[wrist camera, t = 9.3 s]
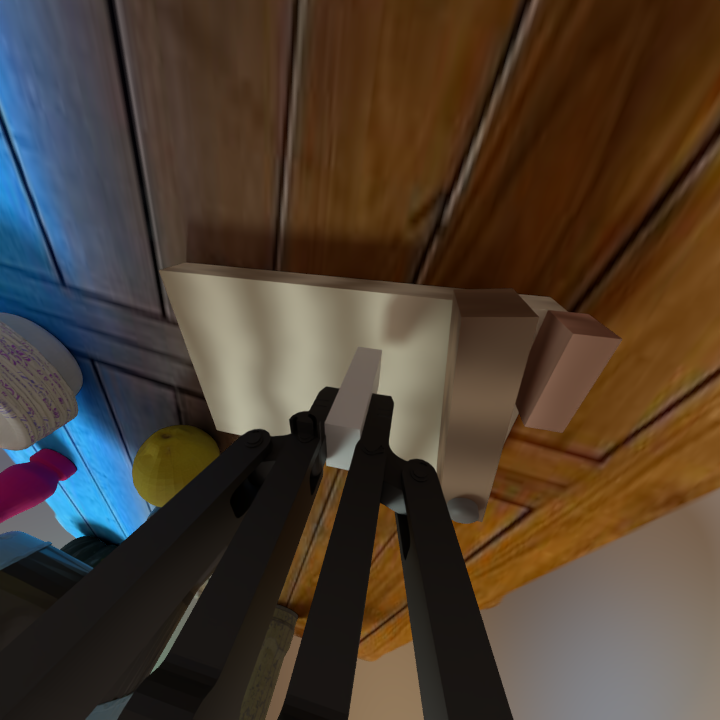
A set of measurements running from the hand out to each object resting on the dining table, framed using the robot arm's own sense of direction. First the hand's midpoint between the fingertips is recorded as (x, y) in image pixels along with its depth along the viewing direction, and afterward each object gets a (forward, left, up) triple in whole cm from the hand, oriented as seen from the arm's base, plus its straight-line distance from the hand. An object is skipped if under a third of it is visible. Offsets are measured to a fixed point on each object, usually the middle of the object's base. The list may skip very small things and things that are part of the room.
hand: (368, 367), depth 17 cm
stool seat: (-2, -4, -5) cm, 6 cm away
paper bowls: (-38, -8, -5) cm, 40 cm away
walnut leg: (+7, -3, -2) cm, 7 cm away
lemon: (-20, -17, -5) cm, 27 cm away
